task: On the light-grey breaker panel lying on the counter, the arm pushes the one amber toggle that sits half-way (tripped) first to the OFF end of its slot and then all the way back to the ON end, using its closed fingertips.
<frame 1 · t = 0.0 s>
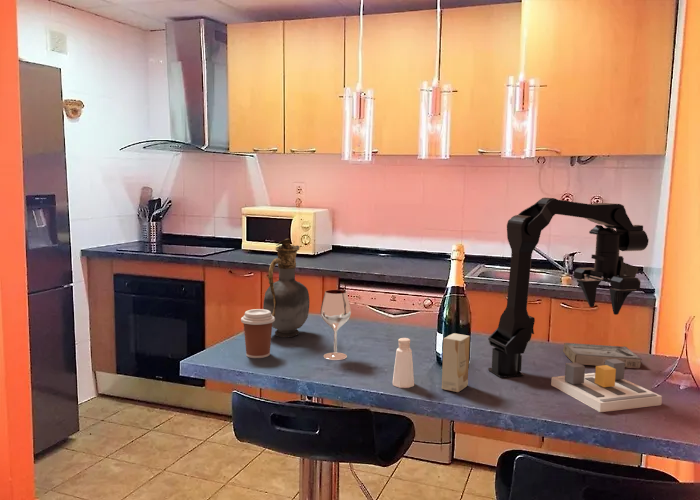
hand: (603, 310, 157), 15 cm above the table, tool pointing down, fingers open, 9 cm apart
pepper shaker: (403, 385, 142), on the table
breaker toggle: (605, 376, 136), point 4 cm above the table, slide at 0.0 cm
coffee cup: (258, 355, 164), on the table
box: (600, 363, 162), on the table
panel: (603, 394, 136), on the table
pitcher: (284, 336, 184), on the table
skincare box: (454, 388, 140), on the table
wineglass: (335, 357, 163), on the table
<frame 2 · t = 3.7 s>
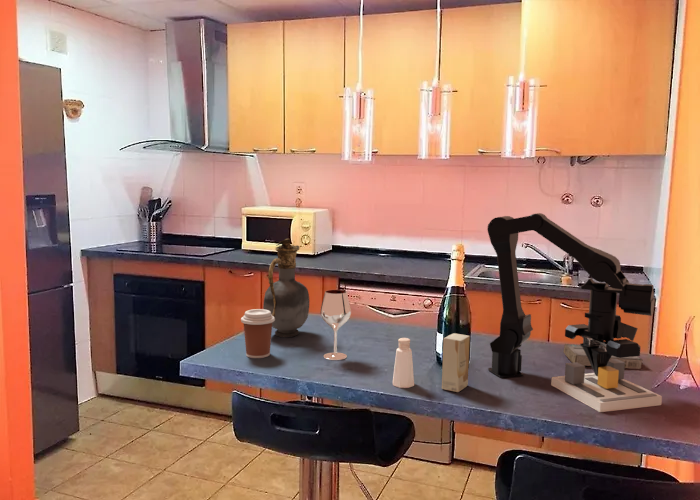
hand: (598, 376, 138), 4 cm above the table, tool pointing down, fingers closed
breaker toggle: (607, 377, 135), point 4 cm above the table, slide at -0.9 cm, touching gripper
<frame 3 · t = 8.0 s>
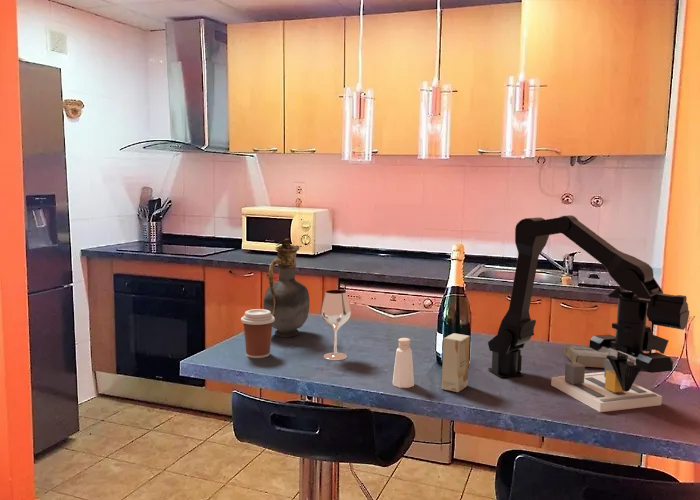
hand: (625, 390, 130), 3 cm above the table, tool pointing down, fingers closed
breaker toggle: (615, 381, 133), point 4 cm above the table, slide at -3.4 cm, touching gripper
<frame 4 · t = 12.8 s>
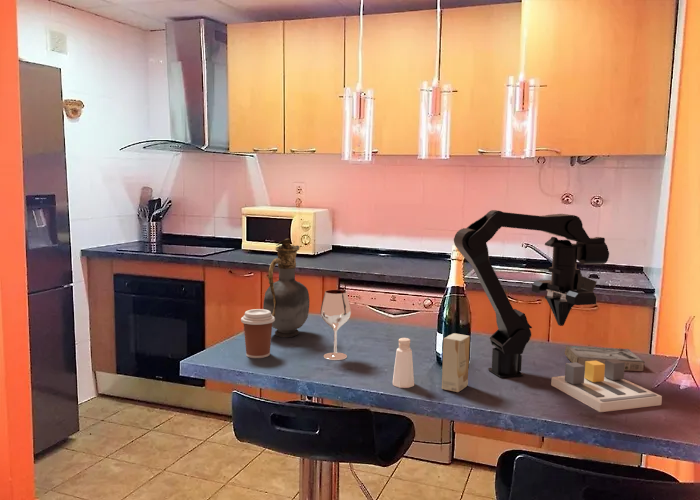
hand: (560, 325, 151), 12 cm above the table, tool pointing down, fingers closed
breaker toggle: (594, 371, 139), point 4 cm above the table, slide at 3.6 cm
at the end: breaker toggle slide at 3.6 cm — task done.
